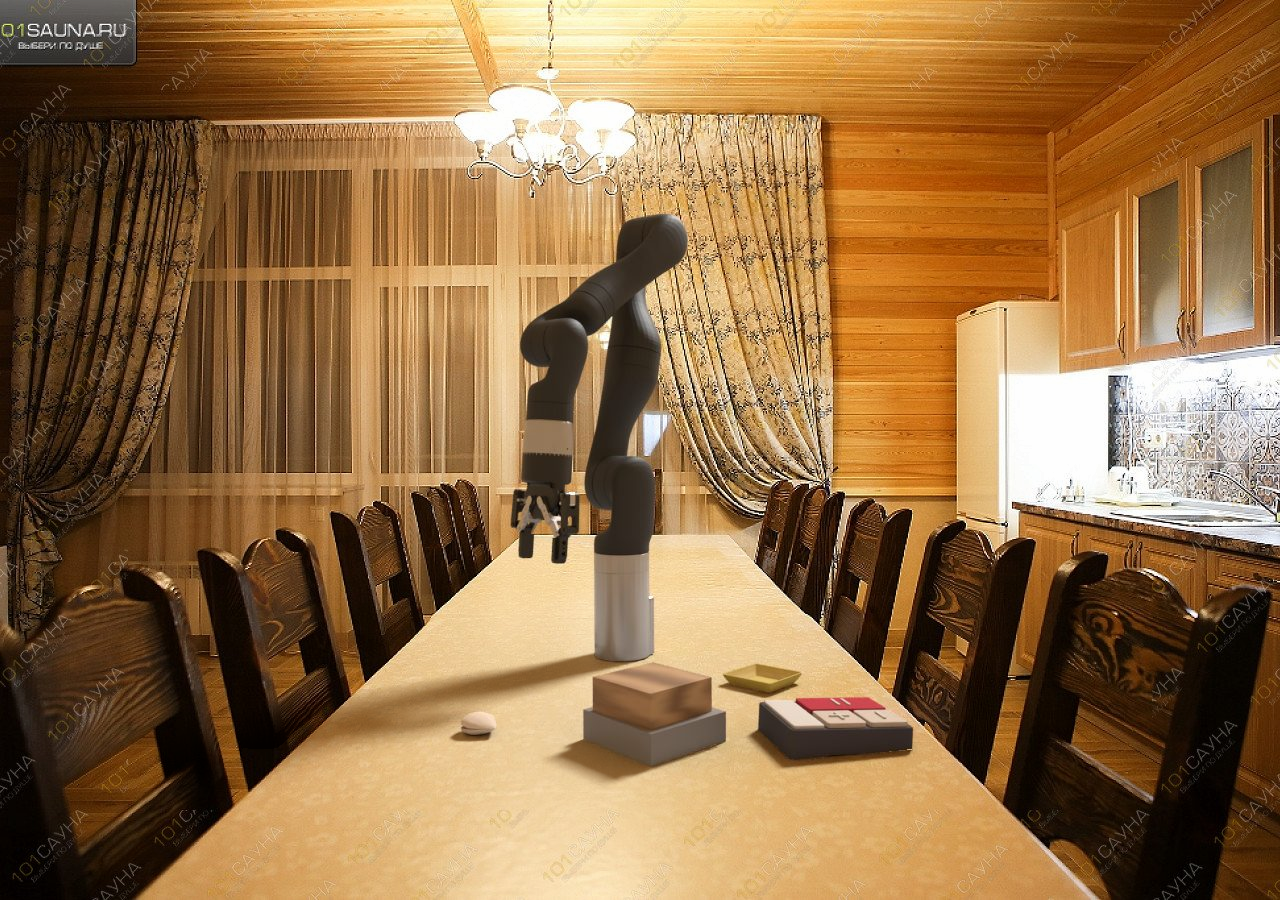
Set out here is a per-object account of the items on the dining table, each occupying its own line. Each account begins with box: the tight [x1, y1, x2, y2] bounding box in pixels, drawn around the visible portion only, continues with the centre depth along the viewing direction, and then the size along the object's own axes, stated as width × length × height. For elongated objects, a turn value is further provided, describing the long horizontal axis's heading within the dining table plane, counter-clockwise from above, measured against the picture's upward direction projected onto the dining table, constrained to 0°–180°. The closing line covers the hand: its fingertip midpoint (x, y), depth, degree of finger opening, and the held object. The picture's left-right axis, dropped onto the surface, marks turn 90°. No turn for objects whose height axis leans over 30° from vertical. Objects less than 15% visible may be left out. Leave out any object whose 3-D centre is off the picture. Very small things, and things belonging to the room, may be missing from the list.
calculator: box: [757, 696, 914, 761], centre depth 103 cm, size 11×4×15 cm
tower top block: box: [592, 662, 713, 730], centre depth 103 cm, size 10×10×4 cm
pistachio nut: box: [460, 711, 497, 736], centre depth 105 cm, size 4×5×2 cm
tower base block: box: [582, 706, 727, 768], centre depth 103 cm, size 12×12×4 cm
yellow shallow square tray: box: [722, 663, 803, 694], centre depth 126 cm, size 9×9×2 cm
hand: (541, 560), depth 128 cm, fingers open, 8 cm apart
